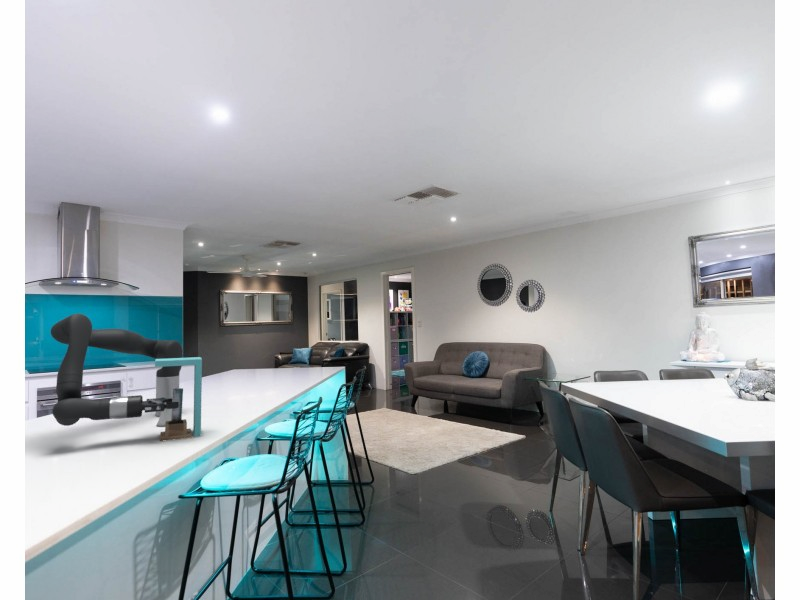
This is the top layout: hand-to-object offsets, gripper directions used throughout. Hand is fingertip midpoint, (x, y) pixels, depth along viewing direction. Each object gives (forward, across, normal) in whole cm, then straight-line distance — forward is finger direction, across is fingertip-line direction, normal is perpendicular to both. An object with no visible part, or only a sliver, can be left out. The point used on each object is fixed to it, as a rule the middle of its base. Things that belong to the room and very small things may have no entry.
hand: (178, 402), depth 157 cm
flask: (-4, +21, +12) cm, 25 cm away
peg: (-1, 0, +11) cm, 11 cm away
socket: (-1, 0, +12) cm, 12 cm away
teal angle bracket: (-1, 0, +12) cm, 12 cm away
